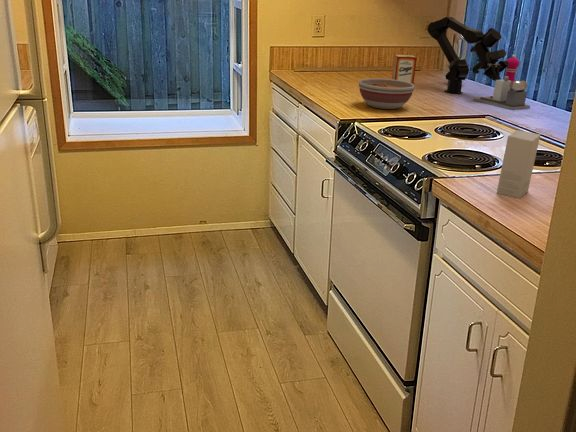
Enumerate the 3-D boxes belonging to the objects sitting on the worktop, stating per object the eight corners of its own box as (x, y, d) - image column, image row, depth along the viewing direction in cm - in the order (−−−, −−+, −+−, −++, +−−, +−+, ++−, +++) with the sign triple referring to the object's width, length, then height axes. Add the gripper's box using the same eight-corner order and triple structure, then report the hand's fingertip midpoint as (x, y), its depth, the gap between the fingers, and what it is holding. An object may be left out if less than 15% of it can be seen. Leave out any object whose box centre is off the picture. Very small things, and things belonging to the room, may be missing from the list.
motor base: (473, 100, 285) (477, 74, 281) (490, 98, 291) (495, 73, 287) (511, 110, 268) (516, 83, 264) (529, 108, 274) (534, 81, 270)
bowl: (377, 114, 246) (380, 88, 242) (346, 102, 264) (348, 79, 261) (422, 111, 256) (426, 86, 252) (389, 100, 275) (392, 77, 271)
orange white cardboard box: (393, 89, 303) (397, 55, 297) (391, 86, 309) (394, 53, 303) (412, 90, 303) (416, 56, 298) (409, 87, 310) (413, 54, 304)
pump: (492, 100, 280) (496, 75, 276) (500, 99, 283) (504, 74, 279) (499, 101, 277) (503, 76, 273) (507, 101, 280) (512, 76, 276)
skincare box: (505, 185, 167) (516, 129, 162) (530, 191, 164) (542, 134, 158) (495, 193, 161) (506, 134, 155) (521, 199, 157) (533, 139, 152)
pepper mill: (515, 99, 295) (523, 56, 287) (499, 97, 296) (507, 54, 288) (513, 96, 301) (521, 54, 294) (497, 95, 302) (505, 53, 295)
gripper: (481, 42, 272) (497, 72, 268) (509, 42, 282) (525, 70, 277) (465, 58, 281) (480, 87, 277) (493, 57, 291) (507, 85, 286)
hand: (499, 82), depth 279 cm, fingers closed, pressing on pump
